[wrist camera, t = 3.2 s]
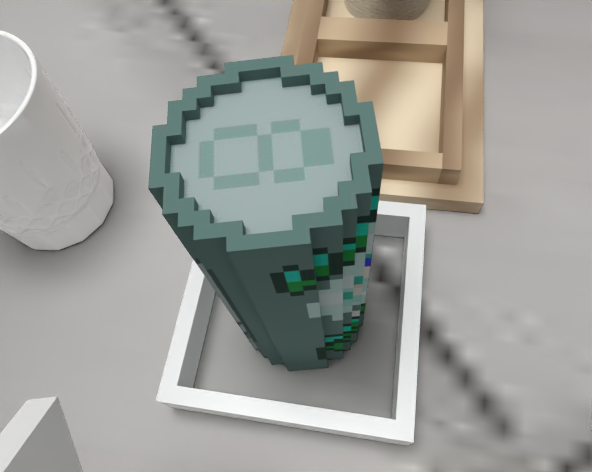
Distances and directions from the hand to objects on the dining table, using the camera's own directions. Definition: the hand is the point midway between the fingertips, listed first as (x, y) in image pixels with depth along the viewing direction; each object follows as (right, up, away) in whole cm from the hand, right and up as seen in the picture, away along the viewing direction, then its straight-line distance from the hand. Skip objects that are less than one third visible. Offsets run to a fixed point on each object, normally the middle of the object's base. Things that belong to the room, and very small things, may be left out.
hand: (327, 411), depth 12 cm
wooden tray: (+5, +16, +21) cm, 27 cm away
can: (0, 0, +15) cm, 15 cm away
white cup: (-15, +6, +19) cm, 25 cm away
